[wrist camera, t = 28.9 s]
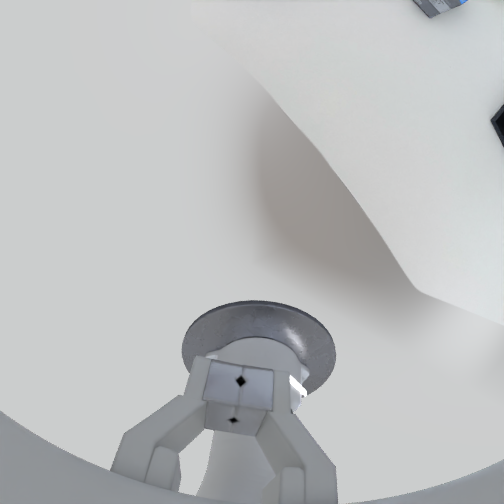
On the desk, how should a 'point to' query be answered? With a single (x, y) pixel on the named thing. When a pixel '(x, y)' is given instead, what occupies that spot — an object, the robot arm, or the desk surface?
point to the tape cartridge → (437, 6)
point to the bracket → (499, 123)
